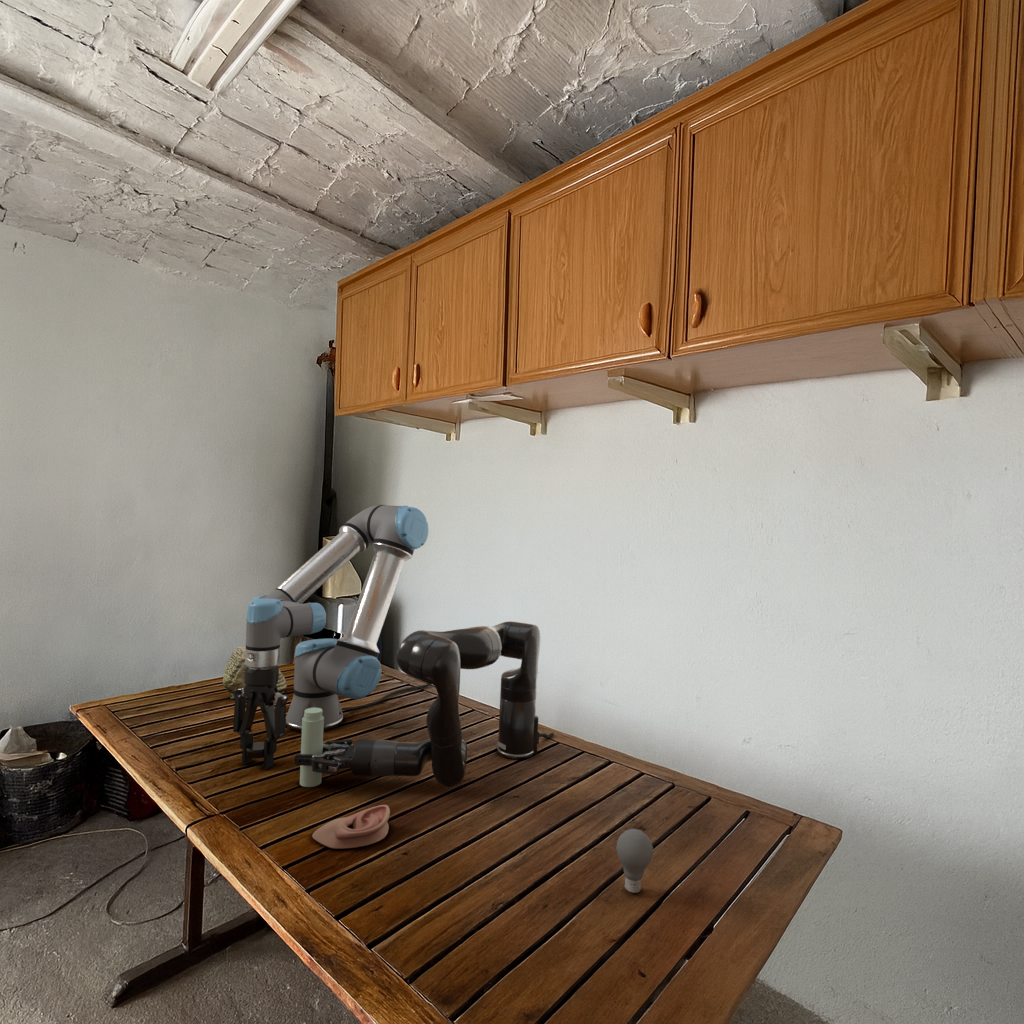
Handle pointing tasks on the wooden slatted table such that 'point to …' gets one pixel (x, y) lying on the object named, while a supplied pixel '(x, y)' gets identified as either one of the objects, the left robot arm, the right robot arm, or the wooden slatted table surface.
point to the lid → (255, 750)
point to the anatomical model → (355, 829)
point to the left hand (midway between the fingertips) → (257, 764)
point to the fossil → (242, 673)
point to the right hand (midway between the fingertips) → (299, 754)
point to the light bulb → (634, 857)
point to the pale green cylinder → (311, 744)
